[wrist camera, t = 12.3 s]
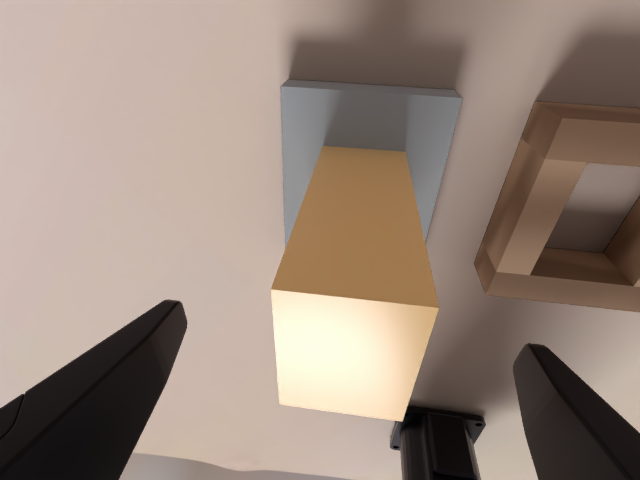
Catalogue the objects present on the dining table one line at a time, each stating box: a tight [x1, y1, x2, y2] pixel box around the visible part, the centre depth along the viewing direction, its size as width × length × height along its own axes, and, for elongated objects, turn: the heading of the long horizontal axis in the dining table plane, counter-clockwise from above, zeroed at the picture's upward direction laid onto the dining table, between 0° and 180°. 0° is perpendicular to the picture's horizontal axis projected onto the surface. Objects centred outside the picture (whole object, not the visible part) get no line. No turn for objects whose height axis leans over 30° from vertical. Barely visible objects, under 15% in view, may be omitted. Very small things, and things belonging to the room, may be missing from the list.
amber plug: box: [271, 146, 439, 422], centre depth 12 cm, size 4×4×9 cm
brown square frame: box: [474, 102, 640, 312], centre depth 15 cm, size 8×8×2 cm
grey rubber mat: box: [281, 79, 463, 249], centre depth 16 cm, size 9×7×2 cm
